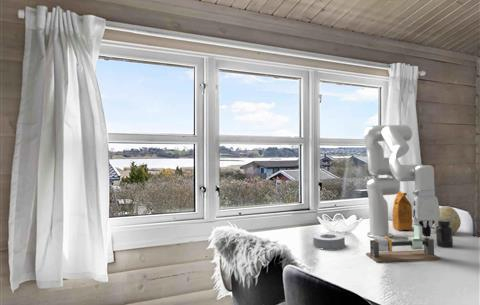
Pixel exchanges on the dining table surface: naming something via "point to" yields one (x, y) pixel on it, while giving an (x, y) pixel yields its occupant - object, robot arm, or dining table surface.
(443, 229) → the supplement bottle
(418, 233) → the mint green stepped block
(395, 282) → the dining table surface
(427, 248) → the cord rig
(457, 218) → the fossilized egg
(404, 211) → the coffee package
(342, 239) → the tape roll
